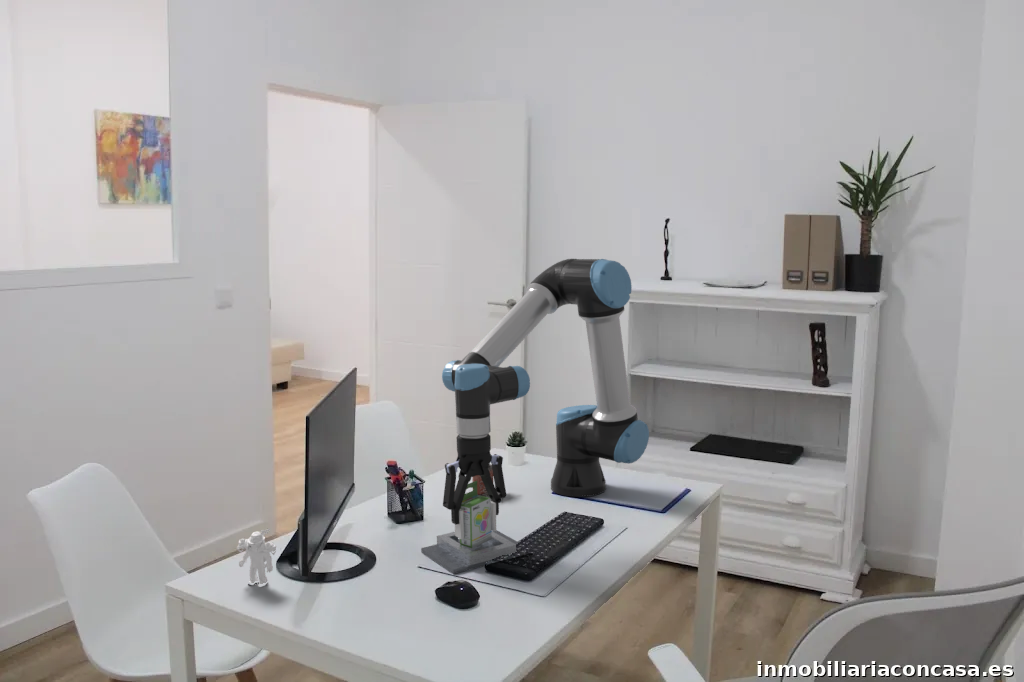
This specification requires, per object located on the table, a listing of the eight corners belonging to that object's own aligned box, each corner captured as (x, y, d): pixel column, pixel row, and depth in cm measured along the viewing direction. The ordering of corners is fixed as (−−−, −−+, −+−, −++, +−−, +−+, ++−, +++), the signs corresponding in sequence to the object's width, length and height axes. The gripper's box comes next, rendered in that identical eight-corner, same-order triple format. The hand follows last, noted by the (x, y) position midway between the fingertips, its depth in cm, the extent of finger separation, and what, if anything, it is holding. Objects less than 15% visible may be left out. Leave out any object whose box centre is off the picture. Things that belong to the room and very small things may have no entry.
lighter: (487, 489, 246) (486, 454, 244) (497, 491, 244) (496, 456, 242) (469, 497, 239) (468, 461, 238) (479, 499, 237) (478, 463, 236)
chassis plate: (496, 534, 211) (496, 522, 211) (531, 553, 199) (531, 540, 198) (421, 552, 201) (420, 539, 200) (453, 574, 188) (452, 560, 188)
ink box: (473, 549, 196) (471, 490, 194) (459, 545, 198) (457, 487, 196) (492, 539, 201) (491, 482, 199) (478, 536, 203) (477, 479, 201)
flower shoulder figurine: (281, 583, 185) (278, 527, 183) (270, 590, 182) (267, 534, 180) (246, 577, 188) (242, 523, 187) (234, 584, 185) (230, 529, 183)
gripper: (503, 424, 204) (505, 519, 208) (424, 437, 194) (427, 537, 197) (521, 430, 198) (523, 528, 201) (440, 445, 187) (443, 548, 191)
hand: (475, 533), depth 199 cm, fingers closed on ink box, 8 cm apart
